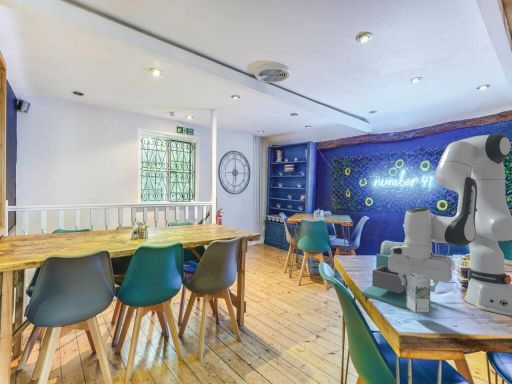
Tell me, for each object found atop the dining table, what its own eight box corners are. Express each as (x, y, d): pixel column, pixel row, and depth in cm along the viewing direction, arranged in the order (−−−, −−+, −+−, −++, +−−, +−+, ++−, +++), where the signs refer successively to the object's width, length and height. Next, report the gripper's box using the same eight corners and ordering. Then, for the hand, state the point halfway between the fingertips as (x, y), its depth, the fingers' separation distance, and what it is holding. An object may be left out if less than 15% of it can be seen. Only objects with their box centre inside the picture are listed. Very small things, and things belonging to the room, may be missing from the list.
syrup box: (420, 306, 102) (420, 268, 102) (431, 313, 96) (430, 273, 96) (405, 306, 102) (405, 269, 102) (415, 313, 96) (415, 273, 96)
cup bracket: (423, 297, 119) (423, 262, 119) (410, 309, 107) (410, 270, 107) (377, 285, 134) (378, 253, 134) (361, 294, 121) (362, 260, 121)
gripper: (453, 254, 94) (453, 293, 94) (392, 245, 108) (392, 279, 108) (450, 257, 89) (450, 298, 89) (386, 248, 104) (386, 283, 104)
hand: (417, 288), depth 99 cm, fingers closed on syrup box, 8 cm apart
